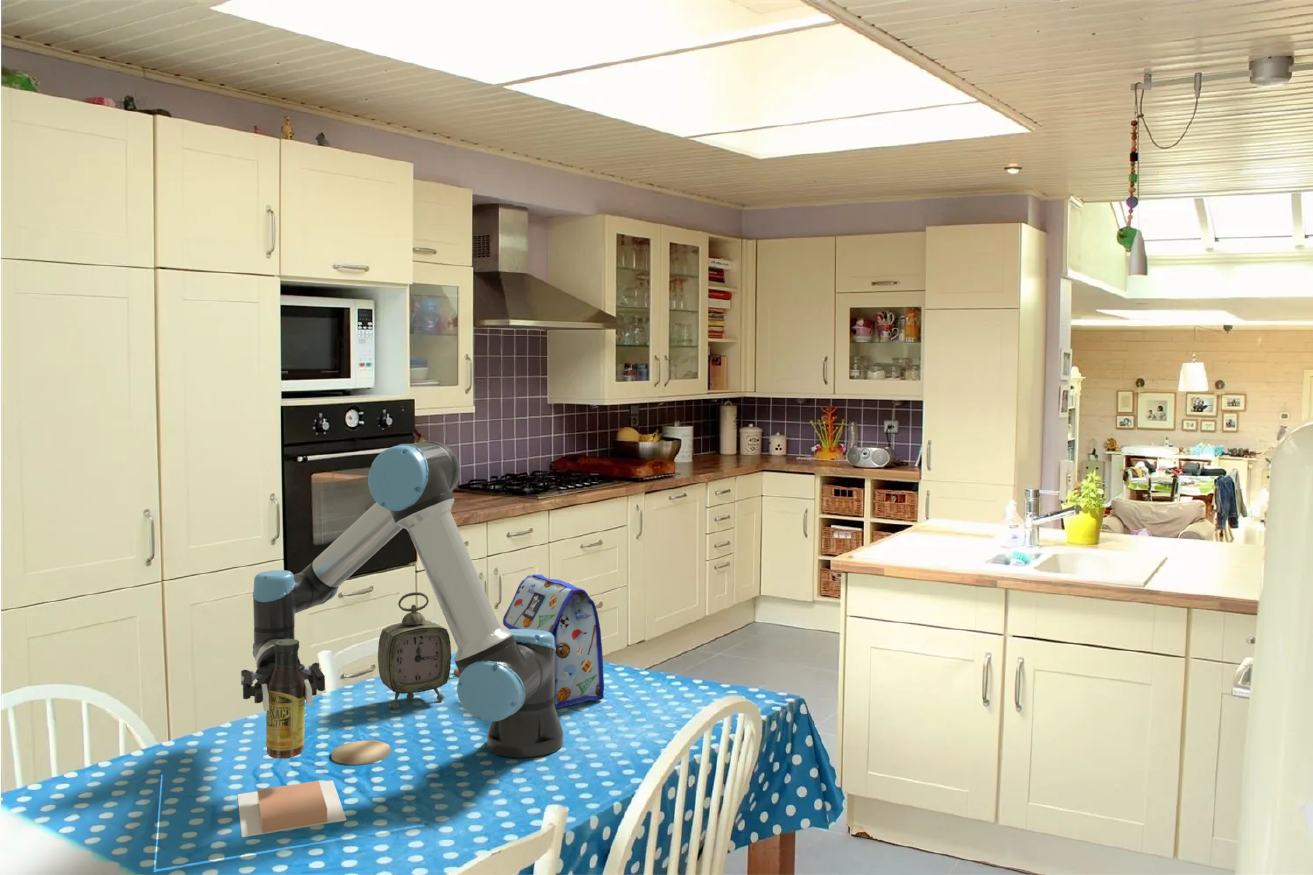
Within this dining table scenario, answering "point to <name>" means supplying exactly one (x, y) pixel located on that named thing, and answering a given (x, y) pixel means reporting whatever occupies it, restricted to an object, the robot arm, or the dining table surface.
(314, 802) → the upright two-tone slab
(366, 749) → the cork coaster
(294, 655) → the sauce bottle
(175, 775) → the dining table surface
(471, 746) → the dining table surface
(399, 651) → the tabletop clock
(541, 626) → the lunch bag
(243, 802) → the white mat
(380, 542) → the robot arm
